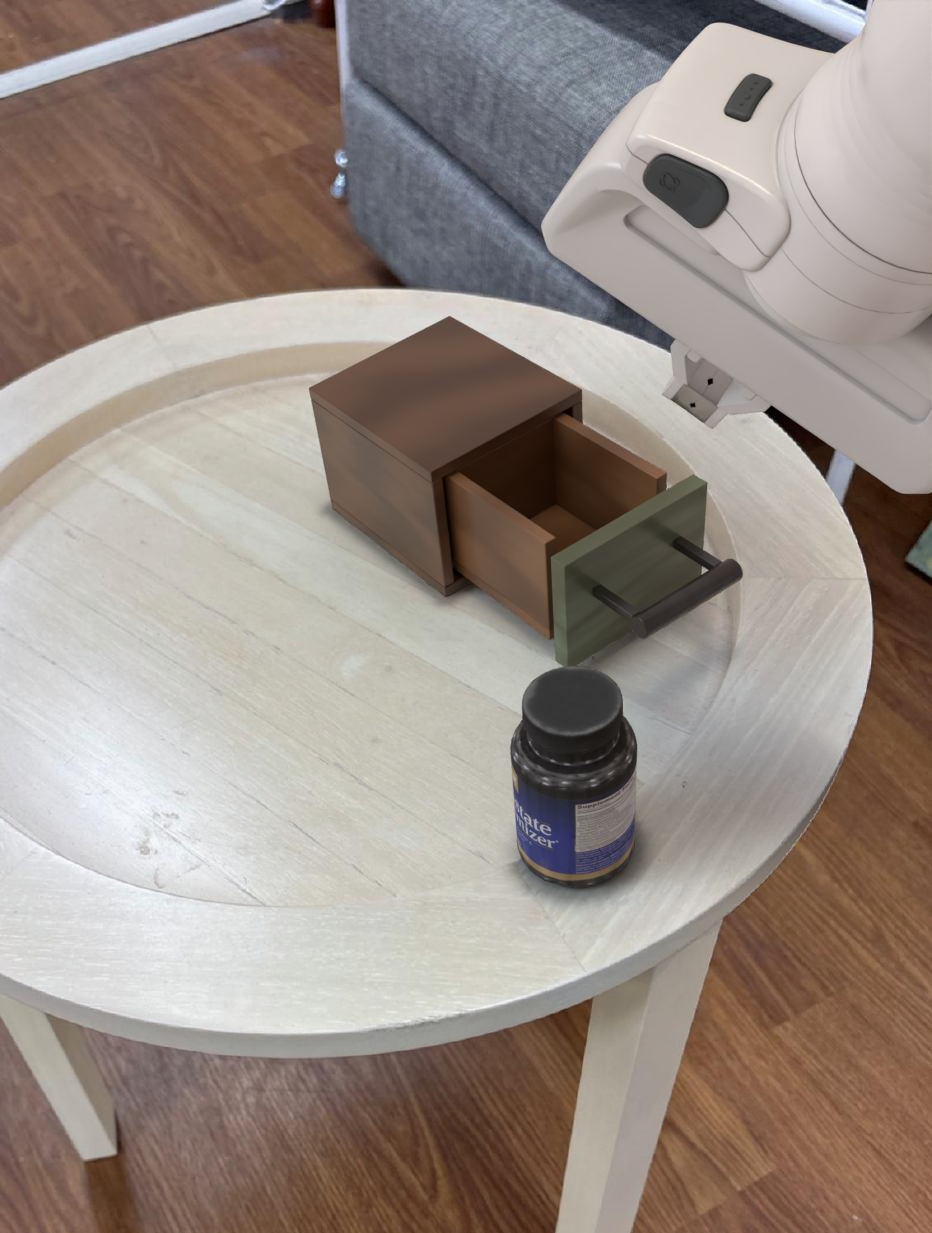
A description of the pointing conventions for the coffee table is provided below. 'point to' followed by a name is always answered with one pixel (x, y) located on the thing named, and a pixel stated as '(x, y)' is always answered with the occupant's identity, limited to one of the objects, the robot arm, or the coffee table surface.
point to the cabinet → (425, 433)
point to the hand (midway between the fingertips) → (692, 401)
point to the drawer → (581, 537)
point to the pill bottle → (574, 778)
